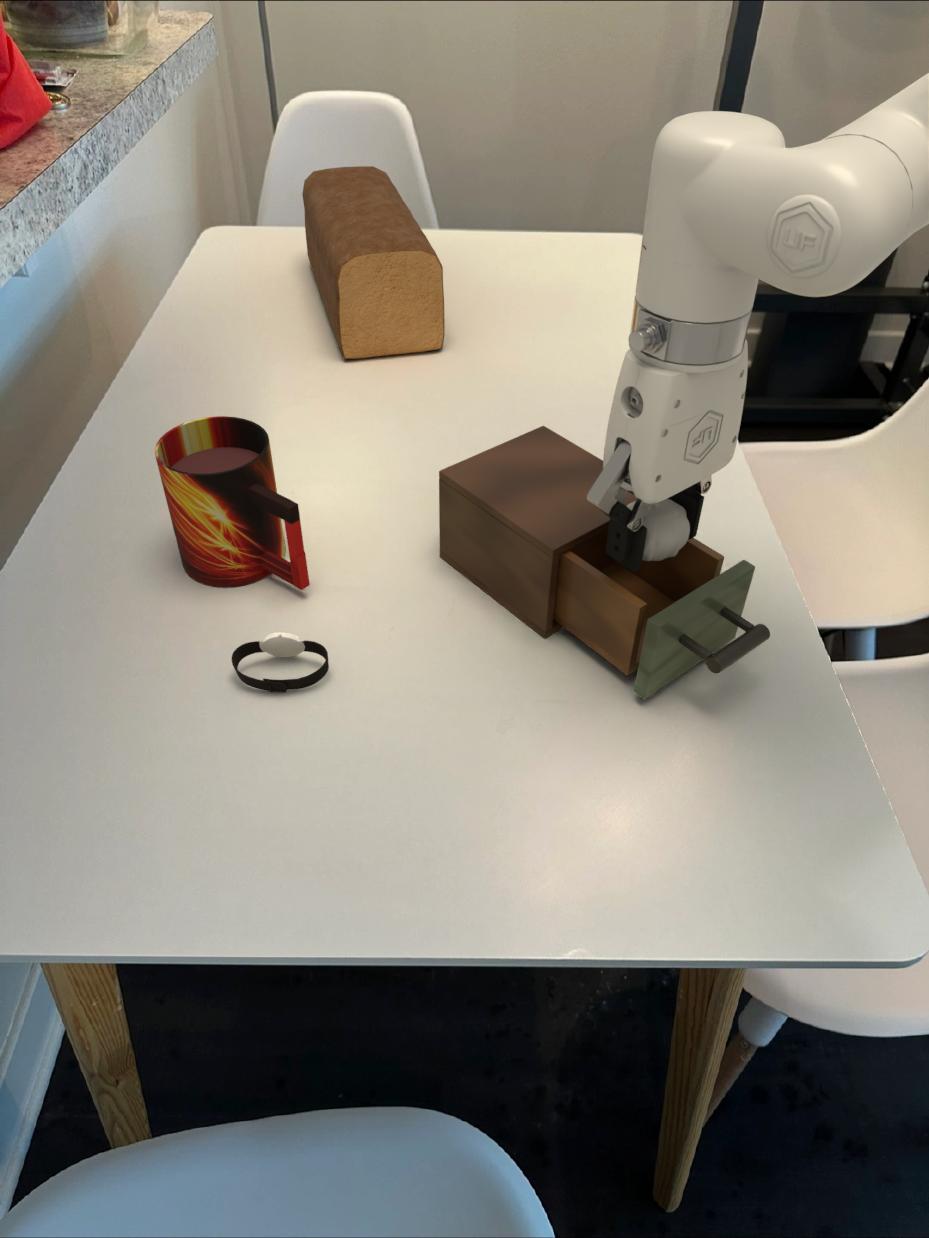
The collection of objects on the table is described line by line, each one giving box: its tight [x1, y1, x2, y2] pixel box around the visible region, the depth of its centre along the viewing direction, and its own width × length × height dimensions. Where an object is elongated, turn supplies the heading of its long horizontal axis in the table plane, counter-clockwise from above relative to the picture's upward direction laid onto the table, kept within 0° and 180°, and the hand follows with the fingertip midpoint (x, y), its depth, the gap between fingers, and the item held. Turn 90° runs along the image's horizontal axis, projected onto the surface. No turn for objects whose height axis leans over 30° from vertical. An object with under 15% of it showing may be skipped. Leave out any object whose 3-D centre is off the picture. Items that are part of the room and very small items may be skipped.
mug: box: [154, 415, 310, 591], centre depth 82 cm, size 10×14×12 cm
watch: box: [231, 631, 330, 693], centre depth 74 cm, size 8×5×4 cm, turn 92°
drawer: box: [553, 528, 771, 700], centre depth 75 cm, size 18×11×8 cm, turn 39°
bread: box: [301, 165, 446, 360], centre depth 124 cm, size 14×34×14 cm, turn 14°
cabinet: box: [438, 425, 637, 639], centre depth 82 cm, size 15×13×10 cm
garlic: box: [627, 499, 690, 561], centre depth 71 cm, size 6×5×5 cm
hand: (651, 544), depth 72 cm, fingers closed on garlic, 5 cm apart
